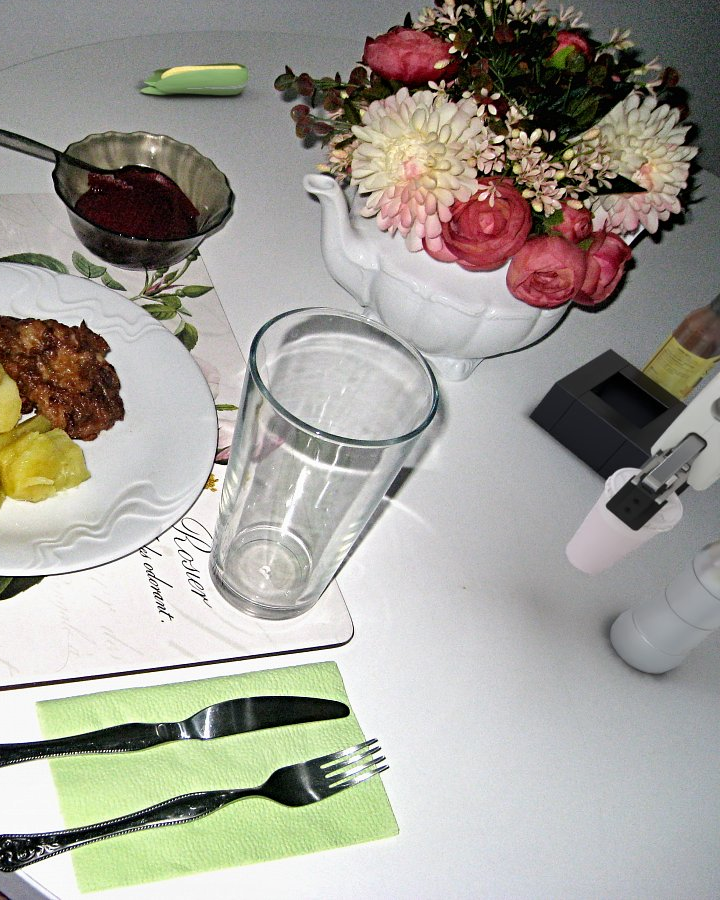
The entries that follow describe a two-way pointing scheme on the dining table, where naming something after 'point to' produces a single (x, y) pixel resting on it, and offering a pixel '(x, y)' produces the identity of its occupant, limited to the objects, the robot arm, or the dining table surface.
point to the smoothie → (617, 528)
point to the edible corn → (198, 79)
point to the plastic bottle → (672, 617)
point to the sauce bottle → (688, 352)
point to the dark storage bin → (608, 414)
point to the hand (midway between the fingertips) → (643, 499)
